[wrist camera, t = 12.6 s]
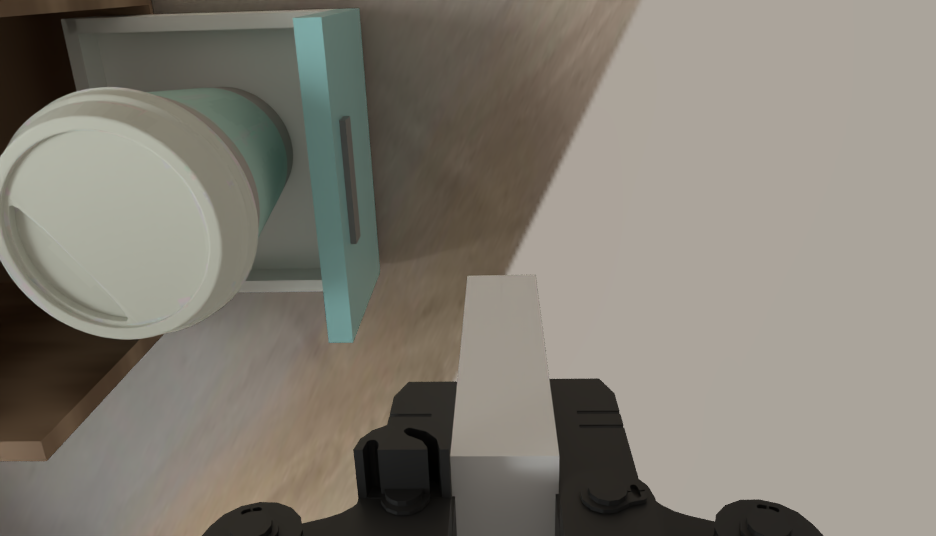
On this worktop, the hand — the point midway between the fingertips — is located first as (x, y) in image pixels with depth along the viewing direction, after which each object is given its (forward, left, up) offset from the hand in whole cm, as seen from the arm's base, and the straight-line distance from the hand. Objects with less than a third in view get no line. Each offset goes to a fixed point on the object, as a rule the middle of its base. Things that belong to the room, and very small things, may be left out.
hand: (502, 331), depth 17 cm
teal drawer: (-12, 0, -19) cm, 23 cm away
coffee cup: (-12, 0, -19) cm, 22 cm away
